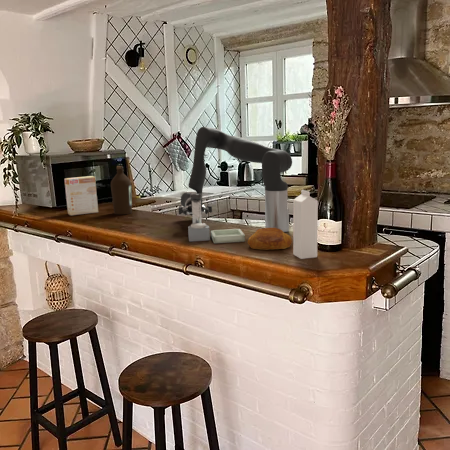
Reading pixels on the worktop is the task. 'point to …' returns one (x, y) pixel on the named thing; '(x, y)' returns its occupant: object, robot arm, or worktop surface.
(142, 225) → the worktop surface
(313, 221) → the milk
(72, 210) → the coffeecake box
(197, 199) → the lock pin
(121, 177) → the olive oil
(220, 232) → the tray
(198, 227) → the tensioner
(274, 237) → the bread loaf
